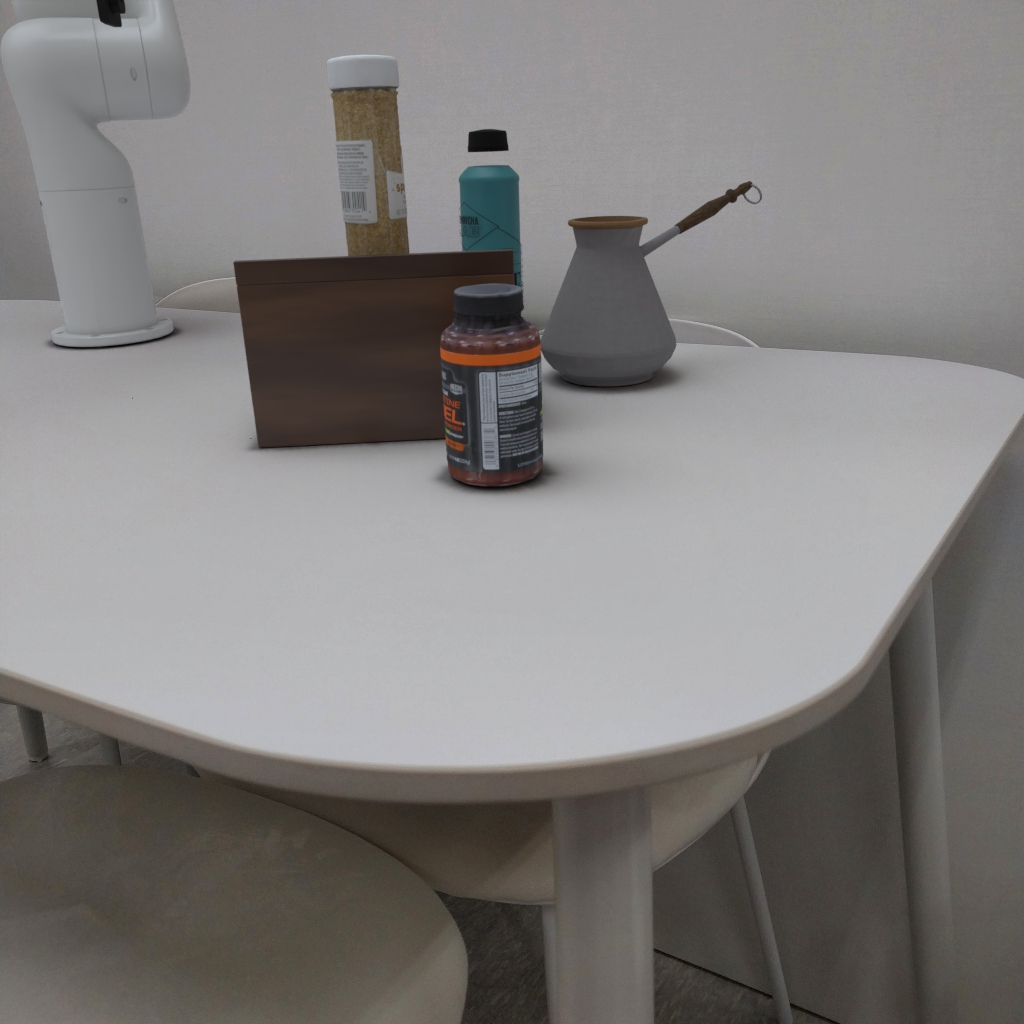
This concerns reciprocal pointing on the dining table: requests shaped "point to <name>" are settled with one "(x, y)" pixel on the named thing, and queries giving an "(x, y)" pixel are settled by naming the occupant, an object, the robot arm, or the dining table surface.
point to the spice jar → (369, 153)
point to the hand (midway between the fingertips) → (47, 27)
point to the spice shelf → (353, 342)
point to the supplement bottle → (492, 388)
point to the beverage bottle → (490, 201)
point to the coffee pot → (615, 301)
